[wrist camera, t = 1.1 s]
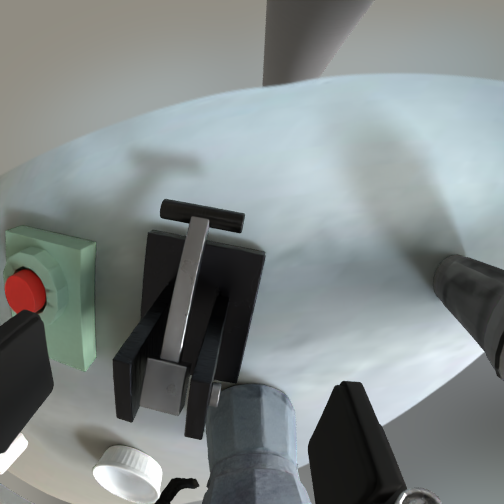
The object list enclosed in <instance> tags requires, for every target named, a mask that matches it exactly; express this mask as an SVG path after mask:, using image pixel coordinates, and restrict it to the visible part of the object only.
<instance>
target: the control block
mask: <svg viewBox="0 0 504 504" xmlns="http://www.w3.org/2000/svg"><path fill="white" fill-rule="evenodd" d="M95 254H96V242H93V241H89V240H84V239H80V238H75V237H71V236H67V235H62V234H58V233H54V232H49V231H45V230H41V229H37V228H32V227H28V226H24V225H22V226H19V227H16V228H13V229H10V230H7V231H6V262H7V263H6V266H5V268H4V271H3V278H4V288H5V283H6V281H7V279H8V278H9V277H10V276H12V275H13V274H15V273H17V272H19V271H21V270H23V269H28V270H31V271H33V272H34V273H36V274H37V275H38V277H39V278H40V279H41V281H42V283H43V285H44V288H45V292H46V301H45V304H44V306H43V307H42V308H41V309H39V310H38V311H37V312H35V313H36V314H38V315H40V317H41V320H42V321H43V322H44V328H45V335H46V342H47V349H48V355H49V358H50V359H53V360H55V361H58V362H60V363H63V364H65V365H68V366H70V367H73V368H76V369H78V370H81V371H84V372H86V371H87V369H88V368H89V367H90V365H91V364H92V363H93V361H94V360H95V359H96V341H95V309H94V287H95ZM11 313H12V317H14V316H15V315H16V314H17V313H15V312H14V311H13V309H12V308H11Z"/></svg>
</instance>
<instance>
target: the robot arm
mask: <svg viewBox="0 0 504 504" xmlns="http://www.w3.org/2000/svg"><path fill="white" fill-rule="evenodd" d="M53 386H54V382H53V377H52V372H51V367H50V361H49V355H48V349H47V342H46V335H45V328H44V322H43V321H42V320H41V317H40V315H38V314H36V313H34V312H31V311H29V310H25V309H24V310H22V311H21V312H19V313H18V314H16V315H15V316H14V317H12V318H11V319H9V320H8V321H7V322H5V323H4V324H3V325H1V326H0V454H1V453H5V452H6V451H7V449H8V448H9V447H10V445H11V444H12V443H13V441H14V440H15V439H16V437H17V436H18V434H19V433H20V432H21V430H22V429H23V428H24V427H25V425H26V424H27V423H28V421H29V420H30V419H31V417H32V416H33V415H34V414H35V412H36V411H37V410H38V408H39V407H40V406H41V405H42V403H43V402H44V401H45V400H46V398H47V397H48V396H49V395H50V393H51V392H52V390H53ZM308 455H309V462H310V469H311V476H312V482H313V489H314V496H315V503H316V504H442V503H441V501H440V499H439V498H438V497H437V496H436V495H435V494H434V493H433V492H431V491H429V490H427V489H424V488H411V489H407V487H406V484H405V482H404V480H403V477H402V475H401V472H400V469H399V467H398V464H397V462H396V459H395V457H394V454H393V452H392V449H391V447H390V444H389V442H388V440H387V437H386V435H385V432H384V430H383V428H382V426H381V425H380V424H379V422H378V420H377V417H376V415H375V413H374V410H373V408H372V406H371V403H370V401H369V399H368V396H367V394H366V392H365V389H364V387H363V385H362V383H360V382H350V381H342V382H341V384H340V385H336V386H335V387H334V389H333V391H332V393H331V396H330V398H329V400H328V402H327V405H326V407H325V409H324V411H323V414H322V416H321V418H320V420H319V422H318V424H317V426H316V429H315V431H314V433H313V435H312V437H311V439H310V441H309V444H308ZM0 504H34V503H32V502H31V501H29V500H27V499H25V498H23V497H22V496H20V495H18V494H17V493H15V492H14V491H12V490H10V489H9V488H7V487H5V486H4V485H2V484H1V483H0Z"/></svg>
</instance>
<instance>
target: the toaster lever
mask: <svg viewBox="0 0 504 504" xmlns="http://www.w3.org/2000/svg"><path fill="white" fill-rule="evenodd" d="M160 217H161V218H163V219H168V220H173V221H179V222H184V223H189V228H188V232H187V236H186V240H185V244H184V248H183V252H182V256H181V260H180V264H179V269H178V273H177V277H176V282H175V286H174V291H173V295H172V300H171V305H170V309H169V314H168V319H167V324H166V329H165V334H164V339H163V344H162V349H161V355H155V356H152V357H148V358H147V361H146V367H145V372H144V378H143V384H142V391H141V397H140V404H139V405H140V406H142V407H145V408H149V409H153V410H156V411H160V412H164V413H168V414H172V415H176V416H179V414H180V412H181V411H182V409H183V407H184V405H185V399H186V393H187V388H188V382H189V377H190V371H191V366H192V363H189V362H185V361H182V355H183V350H184V345H185V340H186V335H187V330H188V325H189V320H190V315H191V310H192V305H193V300H194V295H195V291H196V286H197V281H198V277H199V272H200V268H201V263H202V259H203V254H204V250H205V245H206V241H207V237H208V232H209V228H215V229H220V230H226V231H231V232H236V233H241V232H242V229H243V224H244V219H245V214H244V213H239V212H234V211H229V210H224V209H218V208H213V207H208V206H202V205H197V204H191V203H186V202H180V201H175V200H169V199H164V200H163V202H162V204H161V208H160Z"/></svg>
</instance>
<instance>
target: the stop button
mask: <svg viewBox="0 0 504 504" xmlns="http://www.w3.org/2000/svg"><path fill="white" fill-rule="evenodd" d="M5 295H6V298H7V301H8V303H9V305H10V307H11V308H12V309H13V311H14V312H15V313H17V314H18V313H19V312H21V311H22V310H24V309H25V310H29V311H31V312H34V313H35V312H37V311H38V310H39V309H41V308H42V307H43V306H44V304H45V301H46V292H45V288H44V285H43V283H42V281H41V279H40V278H39V277H38V275H37V274H36V273H34V272H33V271H31V270H28V269H23V270H21V271H19V272H17V273H15V274H13V275H12V276H10V277H9V278H8V279H7V281H6V283H5Z"/></svg>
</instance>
